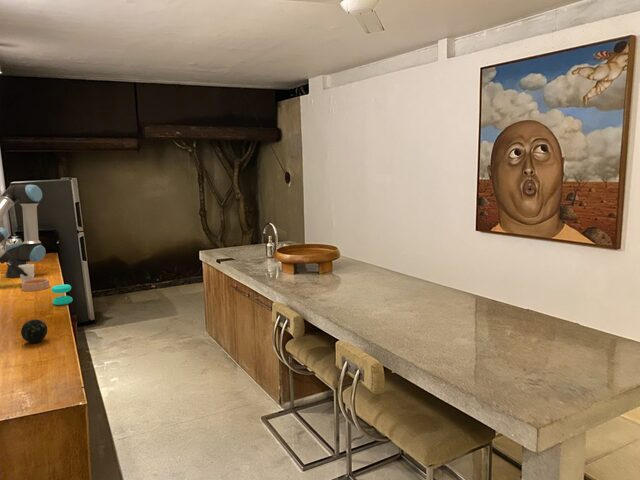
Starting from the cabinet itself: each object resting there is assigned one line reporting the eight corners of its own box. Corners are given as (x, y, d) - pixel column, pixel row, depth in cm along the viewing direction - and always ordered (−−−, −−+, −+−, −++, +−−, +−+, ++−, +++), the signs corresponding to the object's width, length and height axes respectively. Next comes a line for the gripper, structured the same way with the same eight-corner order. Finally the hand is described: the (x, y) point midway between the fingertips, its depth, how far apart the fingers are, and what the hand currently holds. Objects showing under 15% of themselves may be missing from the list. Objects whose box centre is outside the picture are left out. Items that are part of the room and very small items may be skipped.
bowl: (24, 287, 318) (23, 280, 317) (50, 284, 324) (49, 277, 323) (20, 292, 304) (20, 285, 304) (48, 289, 310) (47, 282, 310)
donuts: (72, 283, 283) (68, 287, 273) (74, 300, 284) (70, 304, 275) (53, 284, 280) (48, 288, 270) (55, 301, 282) (50, 306, 272)
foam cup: (39, 283, 329) (37, 264, 327) (30, 286, 319) (27, 266, 317) (26, 283, 330) (23, 264, 327) (16, 286, 320) (14, 267, 318)
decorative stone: (53, 337, 222) (50, 316, 220) (41, 345, 212) (38, 323, 210) (30, 338, 221) (27, 316, 220) (17, 346, 211) (14, 324, 210)
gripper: (0, 257, 325) (30, 278, 334) (-6, 263, 306) (26, 285, 314) (8, 248, 327) (38, 269, 336) (2, 254, 307) (35, 275, 316)
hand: (32, 277), depth 325 cm, fingers closed on foam cup, 9 cm apart
